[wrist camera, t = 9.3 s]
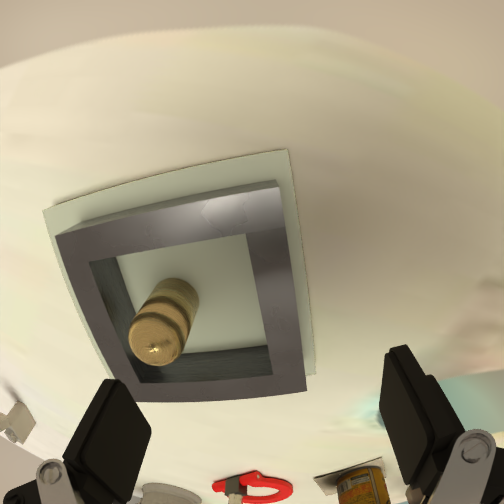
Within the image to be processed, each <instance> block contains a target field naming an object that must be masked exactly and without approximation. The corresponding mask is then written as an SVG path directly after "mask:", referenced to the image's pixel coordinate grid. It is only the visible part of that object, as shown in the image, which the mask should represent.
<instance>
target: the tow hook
mask: <svg viewBox="0 0 504 504" xmlns="http://www.w3.org/2000/svg"><path fill="white" fill-rule="evenodd" d="M247 485H250V486H252V487H270V488H275V489H278V490H279V492H278V493H276V494H273V495H269V496H261V497H256V496H247ZM212 489H213V490H214V491H215V492H221V491H222V492H224V493H225V495H226V496H227V497H228V498H229V501H228V504H243V503H250V504H265V503H273V502H277V501H281V500H284V499H286V498H288V497H289V496H290V495H292V493H293V488H292V485H291V484H290V483H288V482H286V481H283V480H279V479H273V478H264V477H262V475H261V474H260V472H258V471H256V472H253V473H249V474H246V475H239V476H236V477H232V478H229V479H227V480H224V481H220V482H216V483H213V484H212Z"/></svg>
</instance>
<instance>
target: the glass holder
mask: <svg viewBox="0 0 504 504" xmlns="http://www.w3.org/2000/svg"><path fill="white" fill-rule="evenodd" d="M142 489H143V498H141V500H140V502H139V503H137V504H201V503H202V500H201V498H200V497H199V496H197V495H196V494H194V493H192V492H190V491H188V490H185V489H182V488H179V487H176V486H172V485H167V484H160V483H148V484H145V485H143V487H142Z"/></svg>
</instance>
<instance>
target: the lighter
mask: <svg viewBox="0 0 504 504" xmlns="http://www.w3.org/2000/svg"><path fill="white" fill-rule="evenodd" d="M35 424H36V422H35V420H34V419H33V417H32V415H31V413H30V411H29V410H28V408H27V406H26V405H25V404H24V403H21V402H19V401H17V402H16V404H15V405H14V406H13V408H12V409H11V411H10V412H9V413H8V415H7V416H6V415H5V414H3V413H0V432H1V431H3V430H5V429H6V431H5V432H4V433H5V434H6V436H7V437H8V438H9V440H10V441H12V442H13V443H16V441H18V442H20V443H21V444H24V442H25V440H26V439H27V437H28V436H29V434H30V432H31V431H32V429H33V427H34V426H35Z"/></svg>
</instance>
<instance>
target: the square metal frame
mask: <svg viewBox="0 0 504 504" xmlns="http://www.w3.org/2000/svg"><path fill="white" fill-rule="evenodd" d="M239 234H246V239H247V244H248V249H249V255H250V260H251V265H252V270H253V275H254V280H255V285H256V290H257V295H258V300H259V305H260V310H261V315H262V320H263V325H264V330H265V335H266V340H267V345H261V346H254V347H245V348H237V349H228V350H218V351H208V352H196V353H183V354H181V355H180V356H179V357H178V358H177V359H176V360H175V361H174V362H172V363H170V364H168V365H164V366H153V365H149V364H146V363H144V362H143V361H141V360H140V359H138V358H137V357H136V355H135V354H134V353H133V351H132V350H131V347H130V345H129V340H128V331H129V327H130V324H131V322H132V320H133V319H134V317H135V316H136V312H135V310H134V307H133V304H132V302H131V299H130V296H129V293H128V291H127V288H126V285H125V282H124V279H123V276H122V273H121V270H120V267H119V264H118V261H117V258H116V256H122V255H127V254H132V253H138V252H143V251H148V250H154V249H159V248H165V247H170V246H176V245H182V244H187V243H193V242H198V241H204V240H210V239H216V238H221V237H227V236H233V235H239ZM55 239H56V242H57V246H58V249H59V252H60V255H61V258H62V261H63V264H64V266H65V269H66V272H67V275H68V277H69V280H70V283H71V285H72V288H73V291H74V293H75V296H76V298H77V300H78V303H79V305H80V308H81V310H82V312H83V315H84V317H85V319H86V321H87V324H88V326H89V328H90V330H91V332H92V335H93V337H94V339H95V341H96V343H97V345H98V347H99V349H100V351H101V353H102V355H103V357H104V359H105V361H106V363H107V365H108V367H109V369H110V370H111V372H112V374H113V376H114V378H115V379H119V380H121V382H122V383H124V384H125V385H126V387H127V388H128V390H129V392H130V394H131V395H132V397H133V399H134V401H135V402H204V401H223V400H236V399H248V398H258V397H267V396H276V395H283V394H291V393H298V392H304V391H307V386H306V377H305V368H304V359H303V350H302V342H301V334H300V326H299V318H298V310H297V303H296V295H295V288H294V281H293V274H292V267H291V260H290V253H289V246H288V240H287V233H286V227H285V220H284V214H283V208H282V202H281V196H280V190H279V186H278V183H277V181H276V179H274V180H268V181H262V182H256V183H250V184H245V185H239V186H234V187H229V188H223V189H218V190H213V191H208V192H203V193H198V194H193V195H188V196H184V197H179V198H175V199H170V200H166V201H161V202H157V203H152V204H148V205H144V206H140V207H136V208H131V209H127V210H123V211H119V212H115V213H112V214H108V215H104V216H100V217H96V218H93V219H89V220H85V221H82V222H80V223H78V224H76V225H74V226H72V227H70V228H68V229H66V230H64V231H63V232H61V233H59V234H57V235H55Z"/></svg>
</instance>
